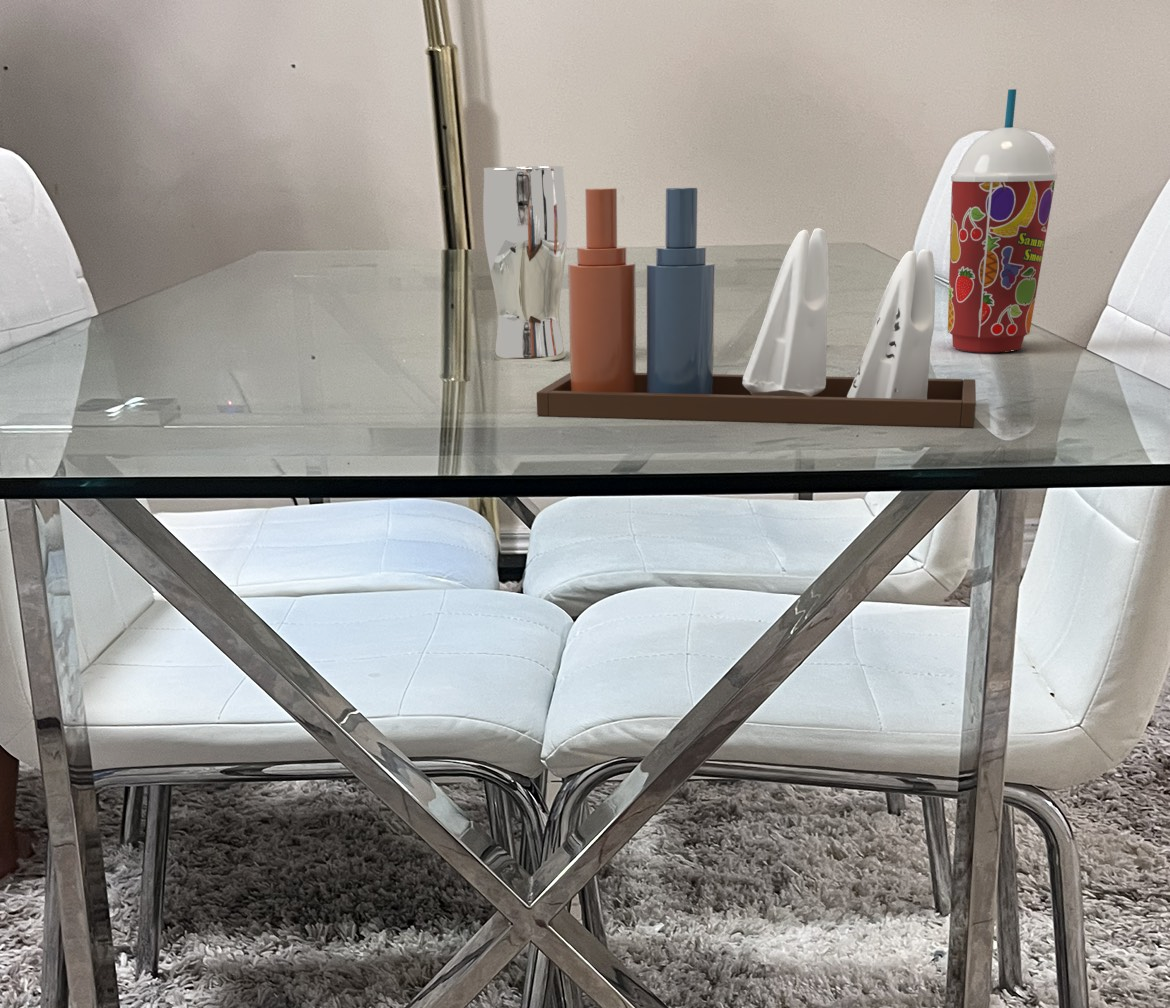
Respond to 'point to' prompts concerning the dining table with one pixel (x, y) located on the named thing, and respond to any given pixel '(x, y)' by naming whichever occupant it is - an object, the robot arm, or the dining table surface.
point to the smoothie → (998, 237)
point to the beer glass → (526, 258)
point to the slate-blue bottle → (680, 304)
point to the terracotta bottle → (602, 303)
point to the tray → (767, 404)
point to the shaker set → (799, 329)
